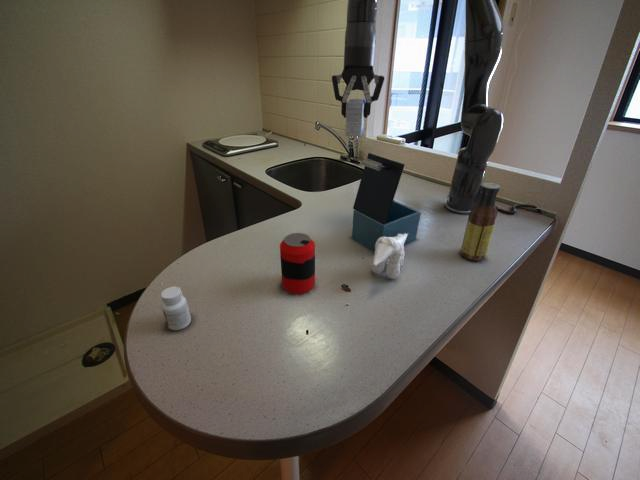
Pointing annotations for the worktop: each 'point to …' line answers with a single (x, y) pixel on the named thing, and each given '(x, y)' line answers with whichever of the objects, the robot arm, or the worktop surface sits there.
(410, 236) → the blue box
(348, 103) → the medicine box
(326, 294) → the worktop surface
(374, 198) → the black box lid
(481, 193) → the sauce bottle
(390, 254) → the dinosaur statue
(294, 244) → the soda can
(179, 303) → the pill bottle
